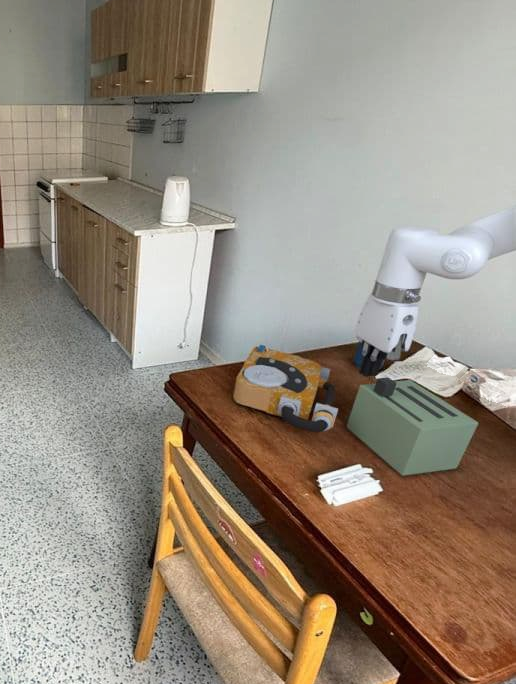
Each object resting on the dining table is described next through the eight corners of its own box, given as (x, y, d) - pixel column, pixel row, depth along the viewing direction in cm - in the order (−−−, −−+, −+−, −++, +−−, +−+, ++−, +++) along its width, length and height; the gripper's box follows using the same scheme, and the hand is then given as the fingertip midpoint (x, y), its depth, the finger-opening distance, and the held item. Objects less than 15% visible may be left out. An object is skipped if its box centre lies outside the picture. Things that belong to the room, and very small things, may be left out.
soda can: (375, 375, 125) (388, 334, 119) (347, 365, 129) (360, 325, 124) (385, 367, 128) (399, 326, 123) (359, 358, 133) (371, 318, 127)
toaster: (394, 421, 106) (410, 379, 101) (456, 468, 92) (479, 422, 87) (346, 427, 105) (360, 384, 100) (402, 475, 91) (421, 429, 86)
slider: (383, 389, 97) (388, 377, 96) (392, 395, 95) (397, 382, 94) (373, 390, 97) (377, 378, 96) (381, 396, 95) (386, 384, 94)
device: (350, 357, 116) (337, 418, 94) (341, 386, 120) (326, 450, 98) (255, 337, 127) (223, 387, 105) (250, 364, 131) (218, 418, 109)
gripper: (445, 304, 85) (411, 391, 94) (384, 278, 98) (359, 356, 107) (408, 307, 84) (377, 394, 93) (351, 281, 97) (329, 359, 106)
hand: (368, 374), depth 100 cm, fingers closed
